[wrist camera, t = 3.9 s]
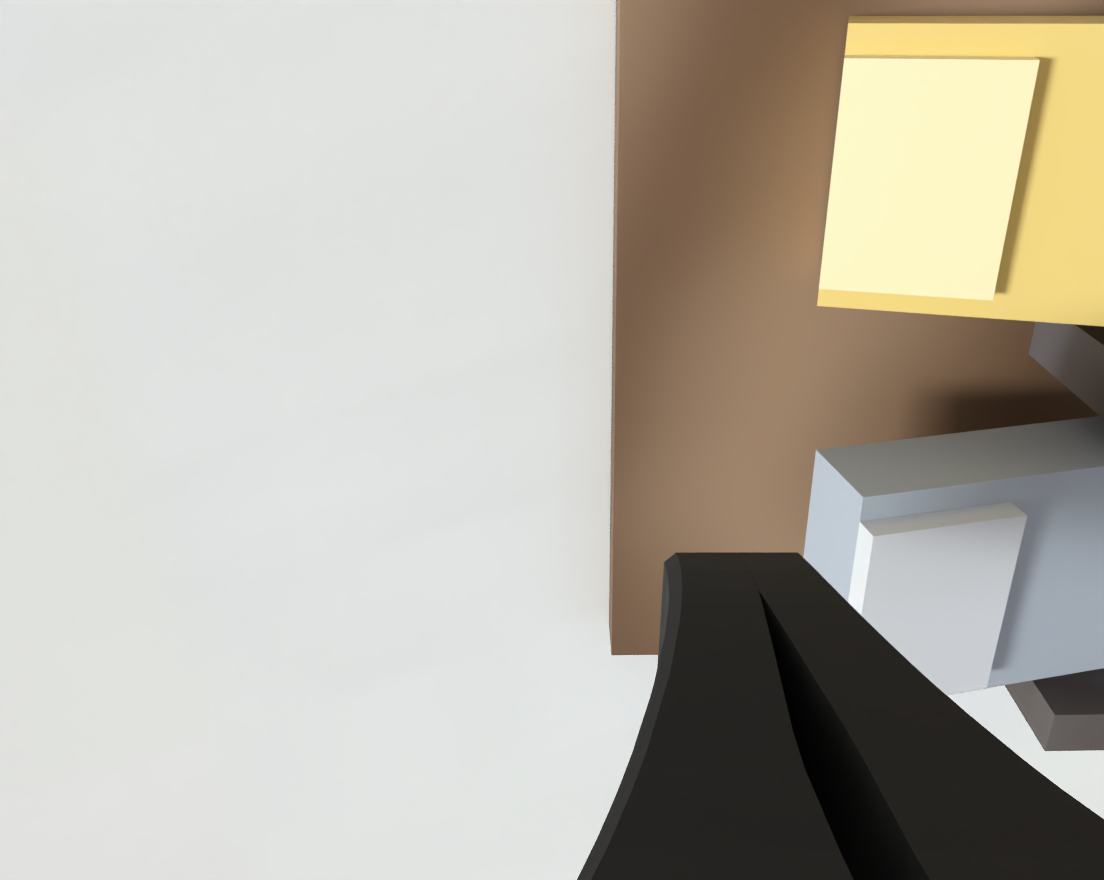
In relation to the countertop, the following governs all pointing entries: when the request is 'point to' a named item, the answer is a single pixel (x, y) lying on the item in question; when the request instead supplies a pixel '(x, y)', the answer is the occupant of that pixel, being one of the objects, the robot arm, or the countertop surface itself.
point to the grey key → (971, 548)
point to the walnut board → (781, 310)
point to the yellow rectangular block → (969, 169)
